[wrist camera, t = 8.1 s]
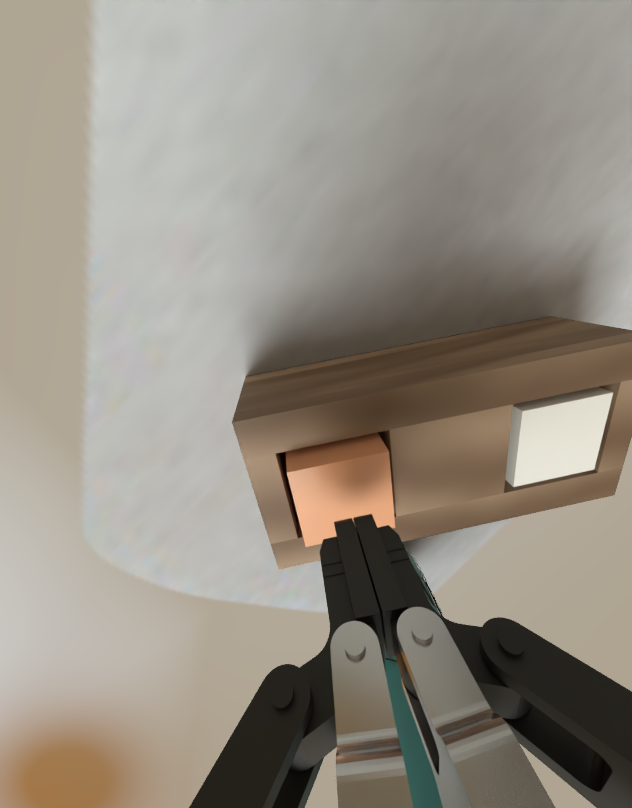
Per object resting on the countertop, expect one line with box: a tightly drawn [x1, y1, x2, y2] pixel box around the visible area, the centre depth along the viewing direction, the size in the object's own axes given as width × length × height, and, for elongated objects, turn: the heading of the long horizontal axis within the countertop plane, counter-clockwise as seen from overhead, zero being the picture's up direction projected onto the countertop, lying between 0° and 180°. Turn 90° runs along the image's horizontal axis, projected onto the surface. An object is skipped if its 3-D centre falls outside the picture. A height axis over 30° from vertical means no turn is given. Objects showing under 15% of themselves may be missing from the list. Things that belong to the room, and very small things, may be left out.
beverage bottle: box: [384, 553, 443, 808], centre depth 16 cm, size 6×7×20 cm
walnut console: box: [232, 317, 632, 569], centre depth 18 cm, size 9×19×6 cm, turn 100°
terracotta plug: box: [286, 433, 395, 547], centre depth 16 cm, size 4×4×5 cm
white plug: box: [505, 387, 613, 487], centre depth 17 cm, size 4×4×5 cm
